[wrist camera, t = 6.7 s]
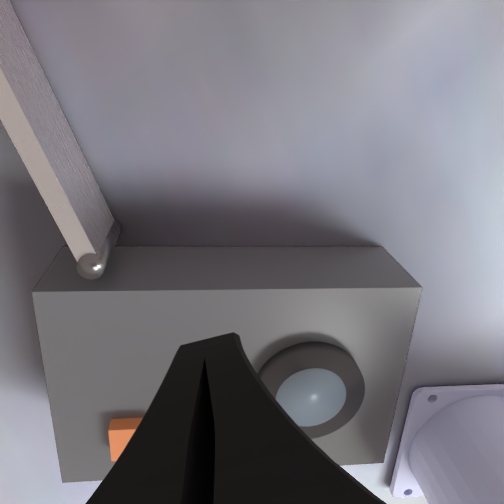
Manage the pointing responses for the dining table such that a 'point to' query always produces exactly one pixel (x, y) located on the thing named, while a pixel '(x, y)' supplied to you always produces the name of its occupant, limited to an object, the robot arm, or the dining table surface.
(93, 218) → the side door
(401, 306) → the camera case
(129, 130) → the dining table surface
